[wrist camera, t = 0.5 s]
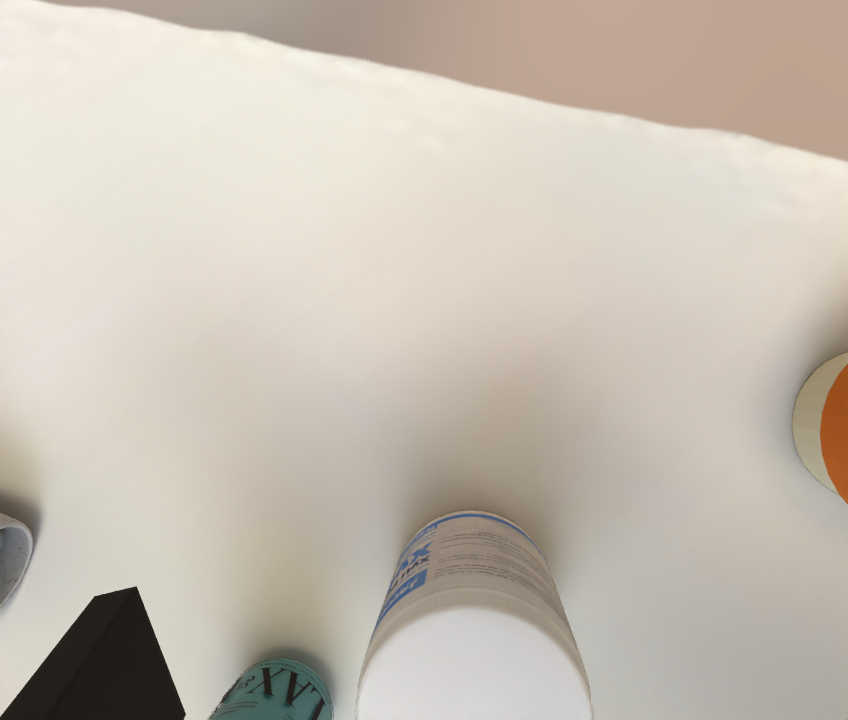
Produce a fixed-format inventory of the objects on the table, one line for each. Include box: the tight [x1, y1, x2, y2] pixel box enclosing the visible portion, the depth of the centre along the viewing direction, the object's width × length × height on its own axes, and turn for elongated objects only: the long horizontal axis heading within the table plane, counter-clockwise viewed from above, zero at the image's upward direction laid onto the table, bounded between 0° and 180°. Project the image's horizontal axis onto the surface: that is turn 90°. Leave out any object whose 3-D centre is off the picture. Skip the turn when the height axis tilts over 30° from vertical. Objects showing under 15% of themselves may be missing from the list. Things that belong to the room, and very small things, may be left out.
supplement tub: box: [355, 510, 594, 720], centre depth 32 cm, size 10×10×15 cm
